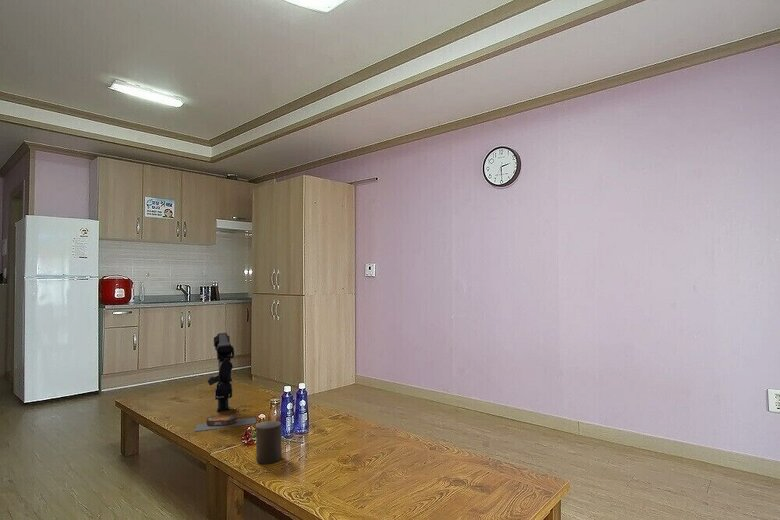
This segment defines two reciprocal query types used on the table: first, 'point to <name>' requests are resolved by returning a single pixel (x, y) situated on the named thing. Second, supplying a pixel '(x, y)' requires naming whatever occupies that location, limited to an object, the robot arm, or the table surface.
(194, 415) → the table surface
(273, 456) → the pillar candle
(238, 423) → the mat
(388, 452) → the table surface
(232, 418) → the tin
